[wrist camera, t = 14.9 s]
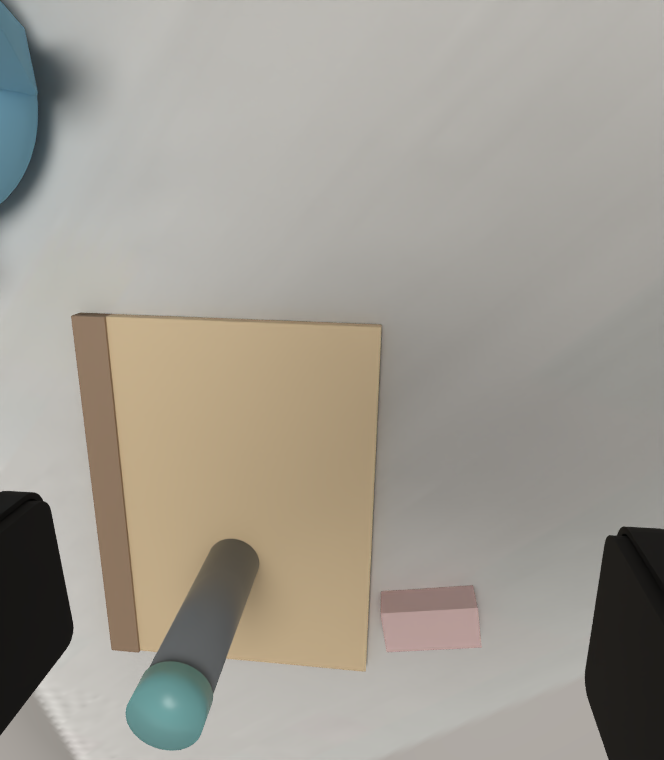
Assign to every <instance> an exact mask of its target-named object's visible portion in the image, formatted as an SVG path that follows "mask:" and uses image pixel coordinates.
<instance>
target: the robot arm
mask: <svg viewBox="0 0 664 760" xmlns="http://www.w3.org/2000/svg"><path fill="white" fill-rule="evenodd" d="M72 635H73V620H72V615H71V610H70V605H69V600H68V595H67V590H66V585H65V580H64V575H63V570H62V565H61V559H60V554H59V549H58V544H57V539H56V534H55V529H54V524H53V519H52V514H51V509H50V506H49V505H48V504H47V503H46V502H44V501H43V499H42V498H41V496H40V495H39V494H37V493H33V492H16V491H2V492H0V735H1V734H2V732H3V731H4V730H5V728H6V727H7V726H8V725H9V723H10V722H11V721H12V719H13V718H14V717H15V715H16V714H17V713H18V712H19V710H20V709H21V708H22V706H23V705H24V704H25V702H26V701H27V700H28V698H29V697H30V696H31V695H32V693H33V692H34V691H35V689H36V688H37V687H38V685H39V684H40V683H41V681H42V680H43V679H44V678H45V676H46V675H47V674H48V672H49V671H50V670H51V668H52V667H53V666H54V664H55V663H56V662H57V661H58V659H59V658H60V657H61V655H62V654H63V653H64V651H65V650H66V649H67V647H68V645H69V644H70V641H71V639H72ZM585 686H586V693H587V696H588V700H589V703H590V706H591V709H592V712H593V715H594V718H595V721H596V724H597V727H598V730H599V732H600V736H601V738H602V741H603V744H604V747H605V750H606V753H607V756H608V759H609V760H664V530H663V529H656V528H639V527H622V528H620V530H619V532H618V534H617V536H613V535H609V536H608V537H607V538H606V541H605V545H604V552H603V558H602V565H601V571H600V578H599V584H598V591H597V598H596V604H595V611H594V617H593V624H592V630H591V637H590V643H589V650H588V656H587V663H586V669H585Z"/></svg>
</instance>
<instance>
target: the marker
mask: <svg viewBox="0 0 664 760" xmlns="http://www.w3.org/2000/svg"><path fill="white" fill-rule="evenodd" d="M258 569H259V558H258V555H257V553H256V552H255V550H254V549H253V548H252V547H251V546H250V545H249V544H247V543H246V542H244V541H241V540H238V539H224V540H221V541H219V542H217V543H216V544H215V545H214V546H213V547H212V548H211V550H210V552H209V554H208V556H207V558H206V559H205V561H204V563H203V565H202V567H201V569H200V571H199V573H198V575H197V577H196V579H195V581H194V583H193V584H192V586H191V588H190V590H189V592H188V594H187V596H186V598H185V600H184V602H183V604H182V606H181V608H180V609H179V611H178V613H177V615H176V617H175V619H174V621H173V623H172V625H171V627H170V629H169V631H168V632H167V634H166V636H165V638H164V640H163V642H162V644H161V646H160V648H159V650H158V652H157V654H156V656H155V657H154V659H153V661H152V663H151V665H150V667H149V668H148V669H147V670H146V671H145V673H144V674H143V676H142V678H141V680H140V682H139V684H138V686H137V687H136V689H135V691H134V693H133V695H132V697H131V699H130V701H129V703H128V705H127V708H126V720H127V723H128V725H129V727H130V729H131V730H132V732H133V733H134V734H135V735H136V736H137V737H138V738H139V739H140V740H142V741H143V742H145V743H146V744H148V745H150V746H153V747H155V748H158V749H163V750H181V749H184V748H187V747H189V746H191V745H193V744H194V743H195V742H196V741H197V740H198V739H199V737H200V735H201V733H202V730H203V727H204V724H205V721H206V719H207V716H208V713H209V710H210V707H211V705H212V701H213V693H214V690H215V688H216V685H217V682H218V679H219V677H220V674H221V671H222V668H223V665H224V663H225V660H226V657H227V654H228V652H229V649H230V646H231V643H232V641H233V638H234V635H235V632H236V630H237V627H238V624H239V621H240V619H241V616H242V613H243V610H244V608H245V605H246V602H247V599H248V597H249V594H250V591H251V588H252V586H253V583H254V580H255V577H256V575H257V572H258Z"/></svg>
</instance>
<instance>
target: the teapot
mask: <svg viewBox="0 0 664 760" xmlns="http://www.w3.org/2000/svg"><path fill="white" fill-rule="evenodd" d="M37 94H38V91H37V86H36V81H35V76H34V72H33V67H32V62H31V57H30V52H29V47H28V43H27V38H26V33H25V28H24V27H23V26H22V25H21V24H20V23H19V21H18V20H17V19H16V18H15V17H14V16H13V15H12V13H11V12H10V11H9V10H8V9H7V8H6V7H5V5H4V4H3V3H2V2H1V1H0V204H1V203H2V202H3V201H4V200H5V199H6V198H7V197H8V196H9V195H10V194H11V193H12V191H13V190H14V189H15V188H16V187H17V185H18V183H19V182H20V180H21V178H22V177H23V175H24V174H25V171H26V169H27V167H28V164H29V162H30V159H31V156H32V153H33V149H34V145H35V141H36V134H37V127H38V101H37Z"/></svg>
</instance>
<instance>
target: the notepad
mask: <svg viewBox="0 0 664 760" xmlns="http://www.w3.org/2000/svg"><path fill="white" fill-rule="evenodd" d="M71 319H72V327H73V335H74V343H75V352H76V360H77V368H78V376H79V385H80V393H81V401H82V409H83V417H84V426H85V434H86V442H87V450H88V459H89V467H90V475H91V483H92V492H93V500H94V508H95V516H96V524H97V533H98V541H99V549H100V557H101V566H102V574H103V582H104V590H105V599H106V607H107V615H108V623H109V631H110V640H111V648H112V650H118V651H128V652H139V651H140V650H141V651H152V652H158V650H159V648H160V646H161V644H162V642H163V640H164V638H165V636H166V634H167V632H168V631H169V629H170V627H171V625H172V623H173V621H174V619H175V617H176V615H177V613H178V611H179V609H180V608H181V606H182V604H183V602H184V600H185V598H186V596H187V594H188V592H189V590H190V588H191V586H192V584H193V583H194V581H195V579H196V577H197V575H198V573H199V571H200V569H201V567H202V565H203V563H204V561H205V559H206V558H207V556H208V554H209V552H210V550H211V548H212V547H213V546H214V545H215V544H216V543H217V542H219V541H221V540H224V539H238V540H241V541H244V542H246V543H247V544H249V545H250V546H251V547H252V548H253V549H254V550H255V552H256V553H257V555H258V558H259V569H258V572H257V575H256V577H255V580H254V583H253V586H252V588H251V591H250V594H249V597H248V599H247V602H246V605H245V608H244V610H243V613H242V616H241V619H240V621H239V624H238V627H237V630H236V632H235V635H234V638H233V641H232V643H231V646H230V649H229V652H228V654H227V657H226V659H237V660H248V661H258V662H269V663H280V664H290V665H301V666H312V667H322V668H333V669H343V670H354V671H365V672H366V653H367V632H368V610H369V588H370V566H371V544H372V523H373V501H374V479H375V457H376V436H377V414H378V392H379V370H380V349H381V327H382V325H380V324H354V323H329V322H303V321H278V320H252V319H226V318H201V317H175V316H149V315H124V314H98V313H78V314H75V315H73V316H71Z"/></svg>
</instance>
